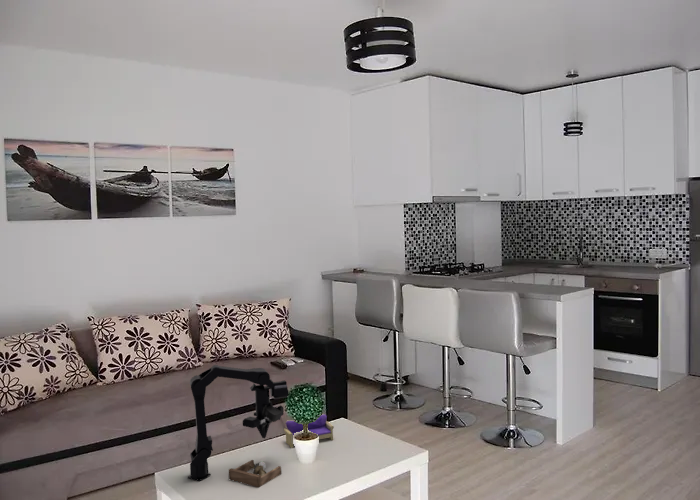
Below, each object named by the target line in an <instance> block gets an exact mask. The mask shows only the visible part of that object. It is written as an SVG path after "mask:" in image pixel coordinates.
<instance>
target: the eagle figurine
mask: <svg viewBox="0 0 700 500" xmlns="http://www.w3.org/2000/svg"><path fill="white" fill-rule="evenodd" d="M248 465H249V466H250V467H251V468H252V470H253V471H252V473H253V474H257V475H261V476H263V475H264V474H266V473H268V472H267V471H266V470H264V469H266V463H265V462H264V461H260V462H258V463H254V464H253V466H251V465H250V464H248Z"/></svg>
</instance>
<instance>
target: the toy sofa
mask: <svg viewBox="0 0 700 500" xmlns="http://www.w3.org/2000/svg"><path fill="white" fill-rule="evenodd" d="M321 414H322V415H321ZM321 414H320V415H321V416H320V417H319V418H318V419H317V420H316V421H315V422H312V423H309V424H308V430H309V431H311V432H313V433H316V434H318V436H319V438H320V439H319V440H323V439H329V440H330V441H333V440H334V432H333V431H334V430H333V429H334V428H335V426H334V425H333V424H332V423H330V422H329V421H327V417H328V416H327V414H325V413H321ZM294 421H295V420H292V419H288V420H286V422H285V426H286V428H285V427H284V429H283V431H284V433H285V443H286V444H287V445H288V446H289V448H291V449H293V448H294V444H293V435H294V433H296V432H300V431H302V430H303V425H302V424H298V423H296V422H294Z"/></svg>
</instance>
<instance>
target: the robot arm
mask: <svg viewBox="0 0 700 500" xmlns="http://www.w3.org/2000/svg"><path fill="white" fill-rule="evenodd" d="M217 378H227V379H234V380H235V379H236V380H243V381H248V382H250V383H253V384H252V385H251V386H250V387H249V389H250V392H254V395H255V398H254V399H255V402H253V404H252V405H253V407H255V412H253V416H248V417H246V418H243V419H242V426H243V427H247V428H251V429H255V428H256V429H257V431H258V433H259V434H260V436H261V438H262V439H265V438H266V437H267V434H268V430H269V427H270V425H271V423H275V422H277V421H279V420H281V418H282V416H284V412H285V410H284V406H283V405H279V406H273V402H272V401H270V400H271V398H273V399H274V400H276V399H284V398H288V397H289V389H288V384H287V381H286V379H285V380H280V381H273V380H272V378H271V377H270V374H269V372H268V371H267V370H266V369H265V368H262V367H256V368H255V367H253V368H250V369H249V368H248V369H247V368H246V369H245V368H238V367H231V366H230V367H229V366H221V365H218V364H215V365H212V366H211V367H210V368H208V369H206V370H205V371H202V372H201V373H200V374H198V375H197V374H196V375H194V376H193V377H191V378H190V380H189V387H190V389H191V392H192V393H191V394H192V397H193V399H194V400H193V401H194V411H195V412H194V413H195V425H196V439H195V447H194V449H193V450H192V451H191V452H190V454H189V457H190V461H191V462H190V463H189V467H190V468H189V469H190V471H189V472H190V475H188V476H187V479H190V480H192V481H193V480H194V481H196V482H201V481H202V480H204V479H207V478H208V477H210V476H212V473H210V472H209V463H208V458H210V457H211V455H212V451H214V449H213V445H212V444H213V439H212V436H211V435H208V433H207V432H208V431H207V421H206V420H207V419H206V407H205V406H206V405H205V397H206V392H207V391H206V390H207V387H208V386H209V385H211V384H212V383H213V382H214V381H215V380H217ZM287 396H288V397H287ZM270 397H271V398H270ZM254 416H255V417H254Z"/></svg>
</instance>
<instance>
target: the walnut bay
mask: <svg viewBox="0 0 700 500" xmlns="http://www.w3.org/2000/svg"><path fill="white" fill-rule="evenodd" d="M248 464H250V465H251V466H253V464H255V461H254V460H253V459H251V460H249V461H247V462H245V463H243V464H242V465H239V466H238V467H236V468H229V469H228V480H229V479H230V480H229V481H232V480H234V481H233V482H236V481H238V482H237V483H240V482H242V483H241V484H244V485H247V484H248V485H249V486H252V487H255V488H260V487H262V486H263V485H265V484H267V483H268V482H270V481H272V480H273V479H276V478H278V476H280V475H282V467H281V466H276V467H275V468H274V469H271V470H270V471H268V472H267V473H266V474H264V475H263V476H261V475H259V474H258V475H257V474H253V472H252V473H251V472H249V471H250V470H253V468H251V467H250V466H249V465H248Z"/></svg>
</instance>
